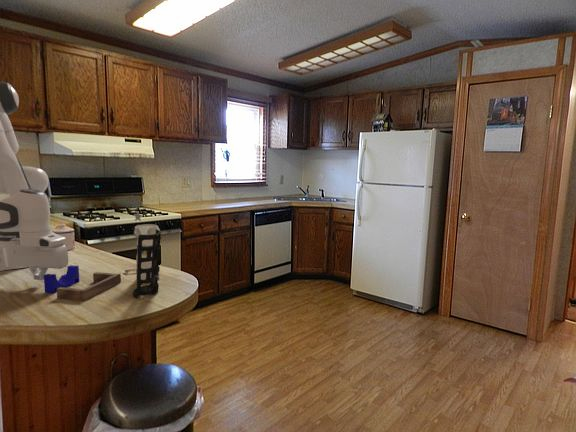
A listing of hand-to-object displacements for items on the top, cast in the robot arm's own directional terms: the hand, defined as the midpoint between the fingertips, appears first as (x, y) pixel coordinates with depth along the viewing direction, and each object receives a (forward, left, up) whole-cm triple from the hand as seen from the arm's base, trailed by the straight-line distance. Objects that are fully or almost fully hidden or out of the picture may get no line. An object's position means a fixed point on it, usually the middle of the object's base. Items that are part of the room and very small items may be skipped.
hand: (39, 279), depth 128 cm
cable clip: (+8, 0, -3) cm, 8 cm away
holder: (+38, +2, -2) cm, 38 cm away
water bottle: (+31, +14, -2) cm, 34 cm away
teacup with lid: (-32, +48, -2) cm, 58 cm away
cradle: (+18, 0, -2) cm, 18 cm away
